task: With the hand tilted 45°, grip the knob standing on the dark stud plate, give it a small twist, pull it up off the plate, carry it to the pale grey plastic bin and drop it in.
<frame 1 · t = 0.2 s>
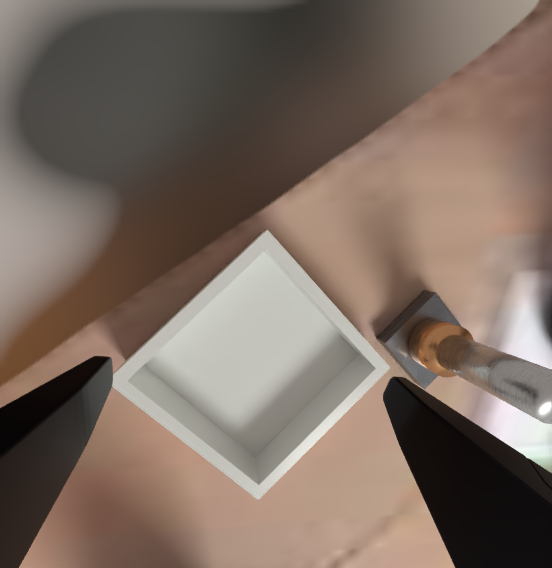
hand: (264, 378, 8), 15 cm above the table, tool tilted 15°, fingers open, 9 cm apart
bin: (257, 355, 24), on the table
stud plate: (419, 337, 27), on the table
knob: (430, 342, 25), point 1 cm above the table, touching stud plate
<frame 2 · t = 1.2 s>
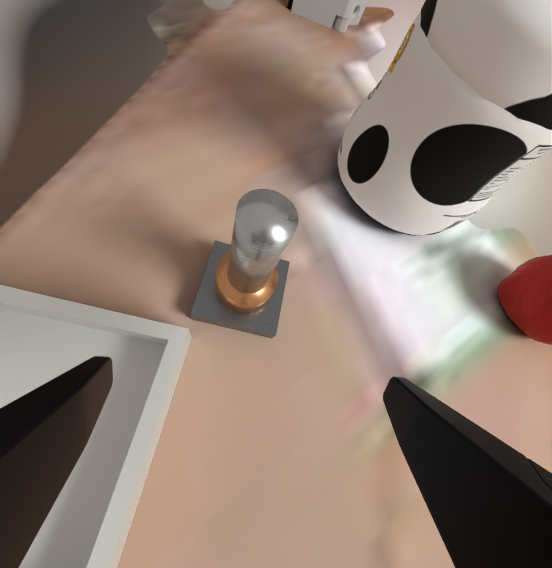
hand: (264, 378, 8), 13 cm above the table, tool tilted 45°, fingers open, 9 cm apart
bin: (27, 431, 16), on the table
milk container: (388, 189, 33), on the table
stud plate: (242, 291, 23), on the table
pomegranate: (520, 309, 31), on the table
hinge: (324, 19, 46), on the table
knob: (244, 285, 22), point 2 cm above the table, touching stud plate
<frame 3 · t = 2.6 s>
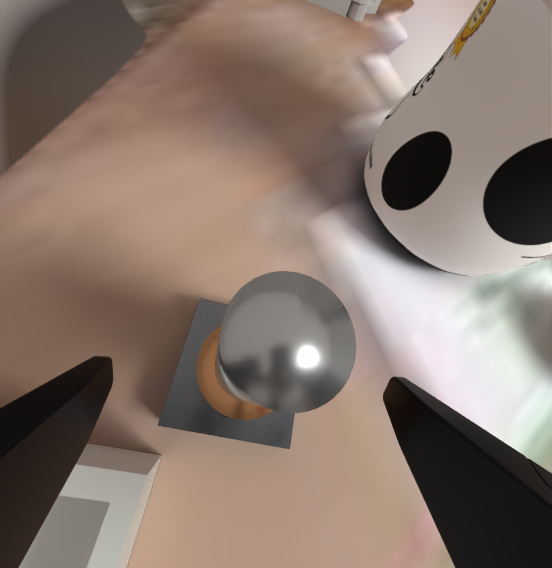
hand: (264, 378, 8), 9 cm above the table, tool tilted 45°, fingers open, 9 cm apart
milk container: (425, 211, 26), on the table
stud plate: (239, 370, 16), on the table
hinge: (337, 7, 40), on the table
knob: (241, 368, 15), point 2 cm above the table, touching stud plate
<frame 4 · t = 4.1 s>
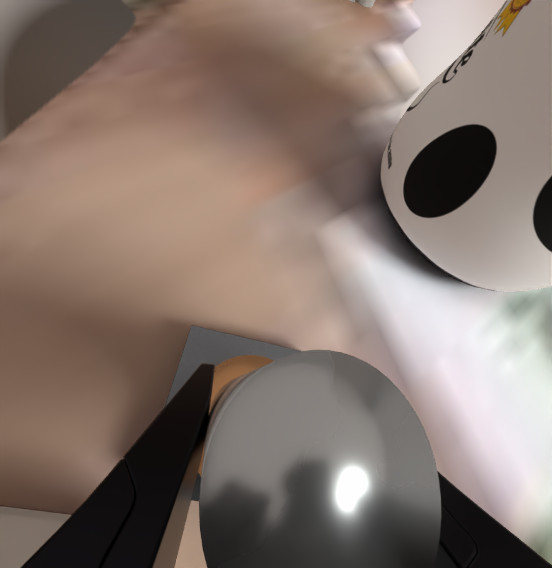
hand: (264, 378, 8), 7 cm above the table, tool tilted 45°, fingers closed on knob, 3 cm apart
milk container: (446, 216, 24), on the table
stud plate: (238, 410, 14), on the table
knob: (242, 413, 12), point 2 cm above the table, touching gripper, stud plate
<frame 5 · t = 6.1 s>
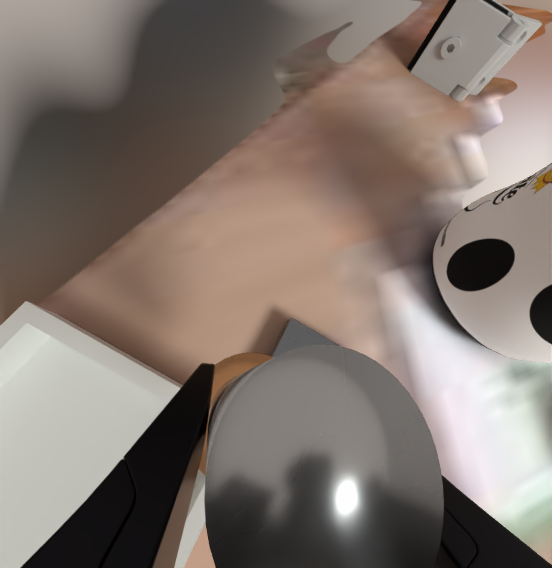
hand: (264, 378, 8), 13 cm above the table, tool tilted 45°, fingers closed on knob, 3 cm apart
bin: (68, 486, 16), on the table
milk container: (479, 288, 30), on the table
stud plate: (304, 377, 22), on the table
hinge: (442, 84, 45), on the table
knob: (242, 410, 12), point 8 cm above the table, touching gripper
when the fingers open (8 cm above the table, at t = 8.0 s): knob drops 2 cm, resting on bin.
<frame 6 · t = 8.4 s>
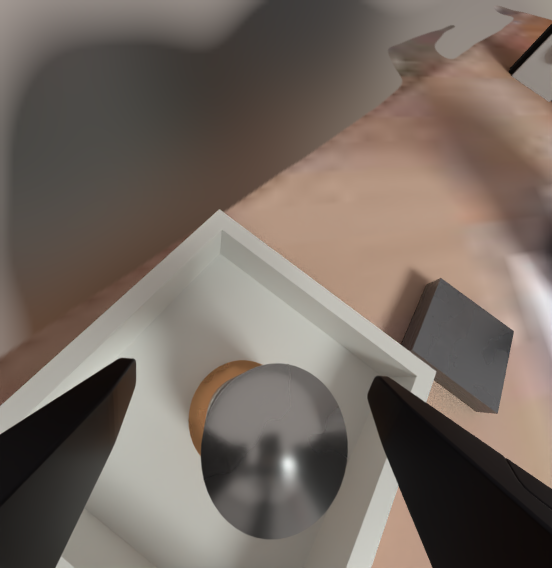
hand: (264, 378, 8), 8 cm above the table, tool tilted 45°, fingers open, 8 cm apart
bin: (236, 408, 15), on the table
stud plate: (449, 343, 20), on the table
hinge: (542, 91, 44), on the table
knob: (236, 408, 14), point 1 cm above the table, touching bin
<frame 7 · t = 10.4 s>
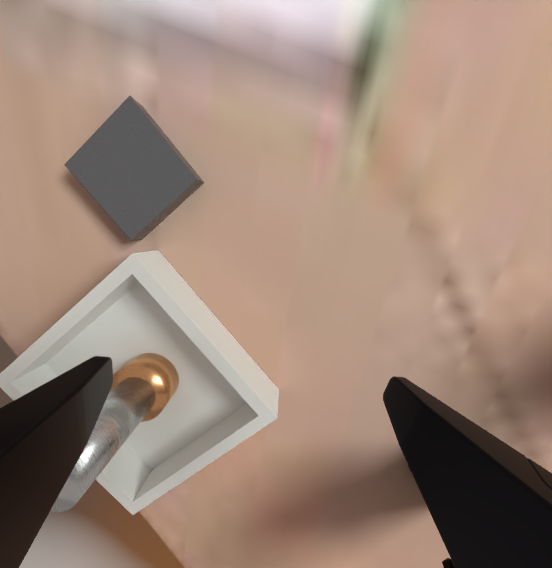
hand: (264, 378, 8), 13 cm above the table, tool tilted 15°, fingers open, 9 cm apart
bin: (156, 374, 23), on the table
stud plate: (141, 176, 20), on the table
knob: (152, 377, 23), point 1 cm above the table, touching bin
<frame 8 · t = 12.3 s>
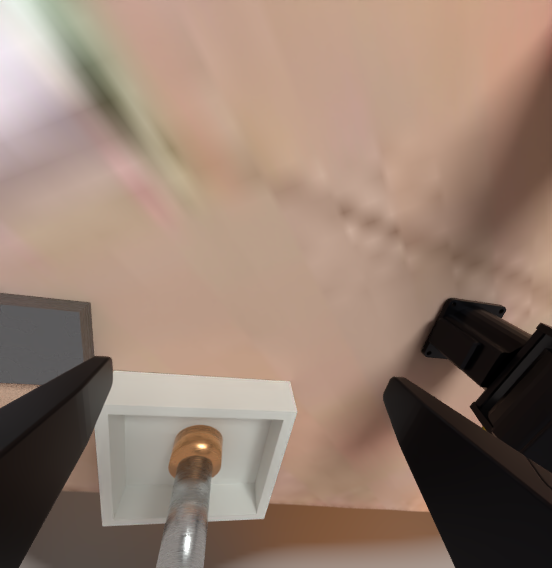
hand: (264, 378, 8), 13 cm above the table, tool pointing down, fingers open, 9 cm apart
bin: (199, 435, 27), on the table
stud plate: (43, 336, 20), on the table
knob: (199, 441, 26), point 1 cm above the table, touching bin
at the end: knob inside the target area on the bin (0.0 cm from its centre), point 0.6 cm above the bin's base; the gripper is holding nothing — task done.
